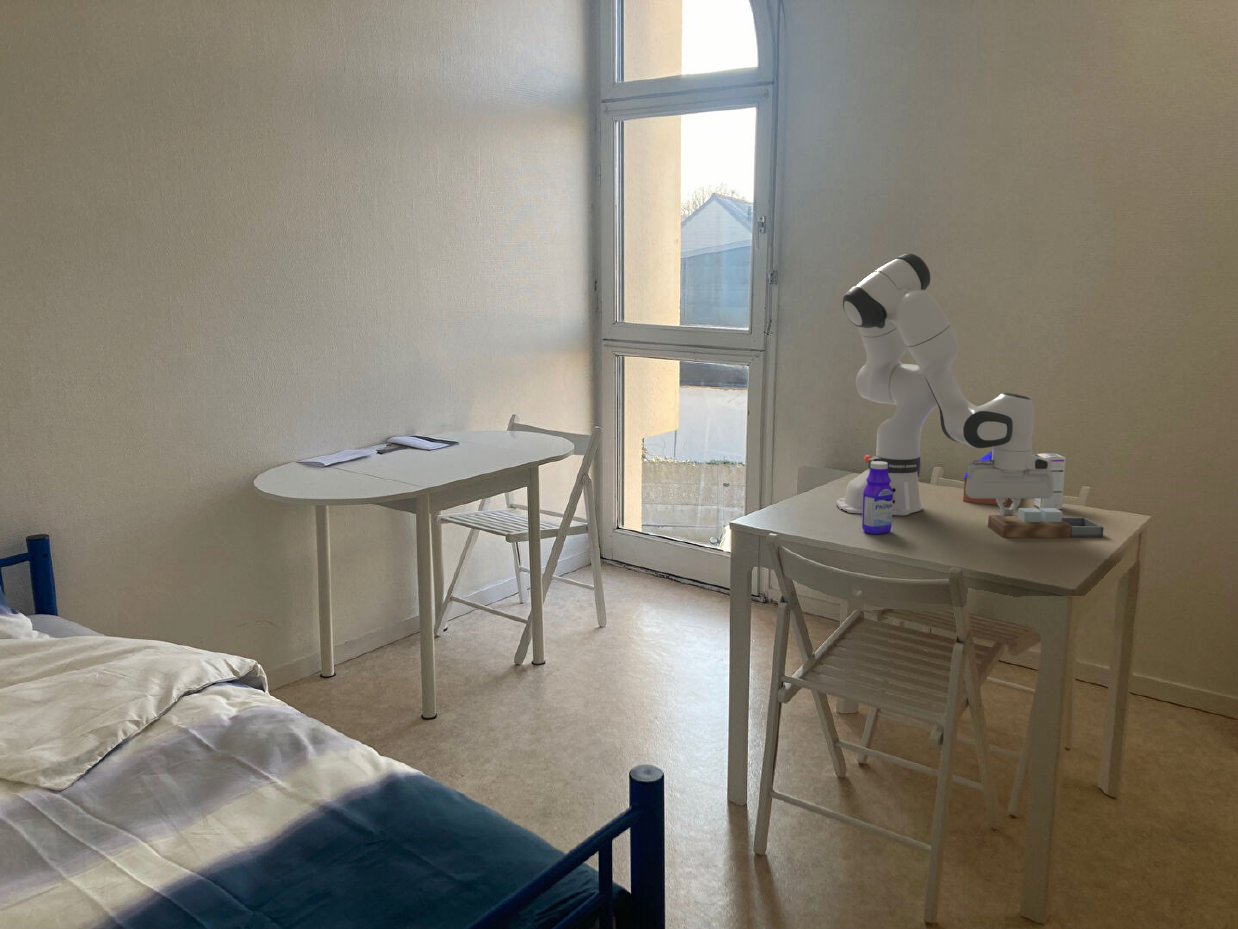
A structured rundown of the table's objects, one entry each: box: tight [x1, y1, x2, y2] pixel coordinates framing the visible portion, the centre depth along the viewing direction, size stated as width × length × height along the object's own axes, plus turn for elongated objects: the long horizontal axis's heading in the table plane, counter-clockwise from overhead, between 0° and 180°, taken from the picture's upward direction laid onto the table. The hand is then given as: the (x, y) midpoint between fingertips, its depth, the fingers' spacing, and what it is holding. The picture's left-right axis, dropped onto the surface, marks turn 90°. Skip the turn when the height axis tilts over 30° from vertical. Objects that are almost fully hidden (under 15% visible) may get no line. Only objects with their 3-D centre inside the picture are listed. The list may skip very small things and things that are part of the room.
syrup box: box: [1032, 452, 1066, 509], centre depth 255 cm, size 6×6×14 cm
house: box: [962, 451, 1009, 506], centre depth 269 cm, size 12×20×12 cm, turn 155°
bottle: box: [861, 461, 893, 535], centre depth 232 cm, size 7×6×17 cm
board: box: [987, 514, 1071, 538], centre depth 232 cm, size 16×10×3 cm, turn 89°
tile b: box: [1017, 507, 1042, 522], centre depth 232 cm, size 4×4×2 cm
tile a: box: [1038, 508, 1063, 522], centre depth 232 cm, size 4×4×2 cm
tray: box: [1062, 516, 1105, 538], centre depth 232 cm, size 8×10×2 cm
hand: (1007, 515), depth 232 cm, fingers closed
